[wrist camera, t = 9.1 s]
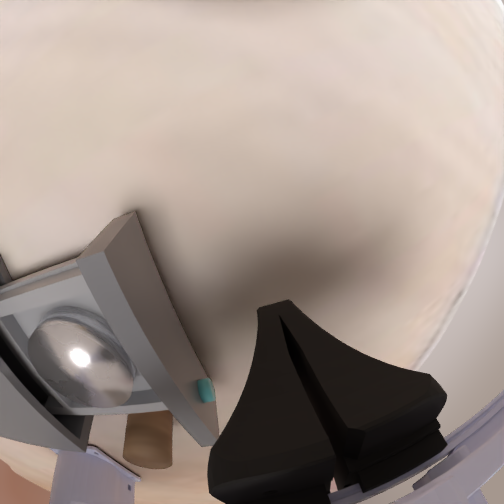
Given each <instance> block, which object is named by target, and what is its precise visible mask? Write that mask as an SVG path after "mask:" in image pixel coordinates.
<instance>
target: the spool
mask: <svg viewBox="0 0 504 504" xmlns="http://www.w3.org/2000/svg"><path fill="white" fill-rule="evenodd" d="M172 423H173V415H172V413H171V412H170V411H169V410H163V411H154V412H144V413H131V414H128V419H127V426H126V433H125V441H124V450H123V457H124V459H125V460H127V461H128V462H130V463H132V464H134V465H137V466H140V467H144V468H150V469H165V468H168V467H170V466H172Z"/></svg>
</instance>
